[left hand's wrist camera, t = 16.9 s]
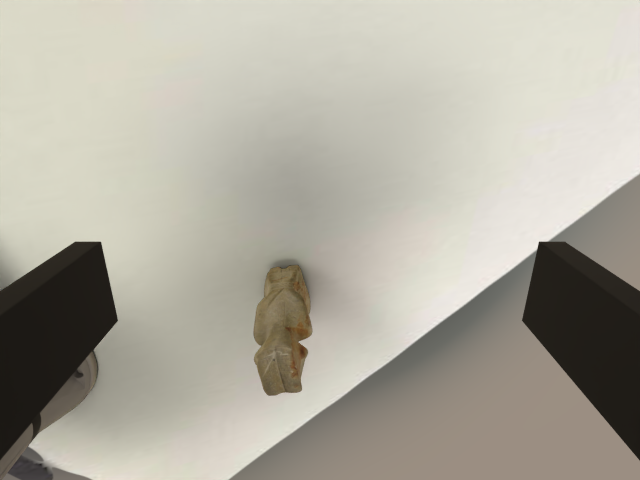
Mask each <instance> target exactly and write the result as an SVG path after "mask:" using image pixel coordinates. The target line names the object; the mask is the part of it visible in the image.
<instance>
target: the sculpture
mask: <svg viewBox="0 0 640 480" xmlns="http://www.w3.org/2000/svg"><path fill="white" fill-rule="evenodd" d="M309 313H310V297H309V294H308V290H307V288H306V285H305V282H304V279H303V276H302V273H301V269H300V267H299V266H298V265H291V266H288V267H287V268H284V269H281V268H280V267H275V268H271V269H270V272H268V274H267V277H266V281H265V288H264V299H263V300H262V301H261V302H260V303H259V304H258V306H257V310H256V317H255V324H254V338H255V341H256V342H257V343H258V344H259V345H261V348H260V349H259V350H258V351H257V353H256V354H255V357H254V362H255V364H256V365H257V369H258V373H259V376H260V379H261V382H262V386H263V389H264V391H265V392H266V394H267V395H269V396H271V395H278V394H280V393H283V392H288V393H297V392H300V391H301V390H302V385H301V375H302V370H303V366H304V361H305V358H306V357H307V354H308V350H307V349H306V348H305V347H304V346H302V345H301V344H300V343H298V342H299V341H301V340H304V339H306V338H308V337H309V336H311V334H312V326H311V321H310V318H309Z"/></svg>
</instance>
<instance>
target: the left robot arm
mask: <svg viewBox="0 0 640 480" xmlns="http://www.w3.org/2000/svg"><path fill="white" fill-rule="evenodd" d="M117 321H118V319H117V314H116V310H115V305H114V300H113V296H112V291H111V286H110V282H109V277H108V272H107V268H106V263H105V259H104V254H103V249H102V245H101V242H74V243H73V244H71V245H70V246H68V247H67V248H65V249H64V250H62V251H61V252H59V253H58V254H56V255H55V256H53V257H51V258H50V259H48V260H47V261H45V262H44V263H42V264H41V265H39V266H38V267H36V268H35V269H33V270H32V271H30V272H29V273H27V274H26V275H24V276H23V277H21V278H20V279H18V280H17V281H15V282H14V283H12V284H11V285H9V286H8V287H6V288H4V289H3V290H1V291H0V480H2V479H3V477H4V476H5V475H6V474H7V472H8V471H9V470H10V468H11V467H12V466H13V465H14V463H15V462H16V461H17V460H18V458H19V457H20V456H21V454H22V453H23V452H24V451H25V449H26V448H27V447H28V446H29V444H30V443H31V442H32V440H33V439H34V438H35V437H36V436H37V434H38V433H39V432H41V431H42V430H44V429H45V428H46V427H48V426H49V425H51V424H52V423H54V422H55V421H57V420H58V419H60V418H61V417H62V416H64V415H65V414H67V413H68V412H70V411H71V410H73V409H74V408H75V407H76V406H77V405H79V404H80V403H81V402H82V401H83V400H84V399H85V397H86V396H87V395H88V393H89V392H90V390H91V389H92V387H93V386H94V384H95V381H96V377H97V364H96V359H95V356H94V354H93V350H94V348H95V347H96V346H97V345H98V344H99V342H100V341H101V340H102V339H103V338H104V336H105V335H106V334H107V333H108V332H109V331H110V329H111V328H112V327H113V326H114V325H115V323H116V322H117ZM522 321H523V322H524V323H525V325H526V326H527V327H528V328H529V329H530V331H531V332H532V333H533V334H534V335H535V336H536V338H537V339H538V340H539V341H540V342H541V344H542V345H543V346H544V347H545V348H546V349H547V351H548V352H549V353H550V354H551V356H552V357H553V358H554V359H555V360H556V361H557V363H558V364H559V365H560V366H561V367H562V368H563V370H564V371H565V372H566V373H567V375H568V376H569V377H570V378H571V379H572V380H573V382H574V383H575V384H576V385H577V386H578V388H579V389H580V390H581V391H582V392H583V393H584V395H585V396H586V397H587V398H588V399H589V401H590V402H591V403H592V404H593V405H594V407H595V408H596V409H597V410H598V411H599V412H600V414H601V415H602V416H603V417H604V418H605V420H606V421H607V422H608V423H609V424H610V426H611V427H612V428H613V429H614V430H615V432H616V433H617V434H618V435H619V436H620V437H621V439H622V440H623V441H624V442H625V443H626V445H627V446H628V447H629V448H630V449H631V451H632V452H633V453H634V454H635V455H636V456H637V458H638V459H639V460H640V291H639V290H637V289H636V288H634V287H632V286H631V285H629V284H628V283H626V282H625V281H623V280H622V279H620V278H619V277H617V276H616V275H614V274H613V273H611V272H610V271H608V270H607V269H605V268H604V267H602V266H601V265H599V264H598V263H596V262H595V261H593V260H592V259H590V258H588V257H587V256H585V255H584V254H582V253H581V252H579V251H578V250H576V249H575V248H573V247H572V246H570V245H569V244H567V243H566V242H539V245H538V249H537V254H536V259H535V263H534V268H533V273H532V277H531V282H530V286H529V291H528V296H527V300H526V305H525V310H524V314H523V319H522Z"/></svg>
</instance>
